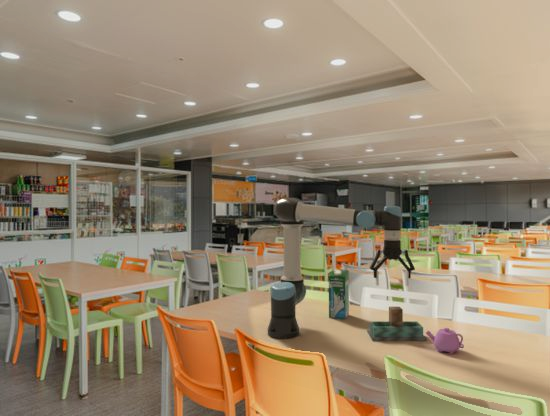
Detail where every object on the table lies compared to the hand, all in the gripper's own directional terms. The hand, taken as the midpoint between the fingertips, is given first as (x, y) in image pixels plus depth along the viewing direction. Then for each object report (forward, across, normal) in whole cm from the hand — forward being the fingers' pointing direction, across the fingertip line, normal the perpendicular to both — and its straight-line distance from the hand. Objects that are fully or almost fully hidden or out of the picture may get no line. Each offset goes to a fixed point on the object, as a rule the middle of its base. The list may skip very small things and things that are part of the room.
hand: (391, 285), depth 189 cm
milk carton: (+24, -20, +33) cm, 46 cm away
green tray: (+23, +2, -1) cm, 24 cm away
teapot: (+23, +18, -18) cm, 35 cm away
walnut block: (+22, +2, -1) cm, 22 cm away
